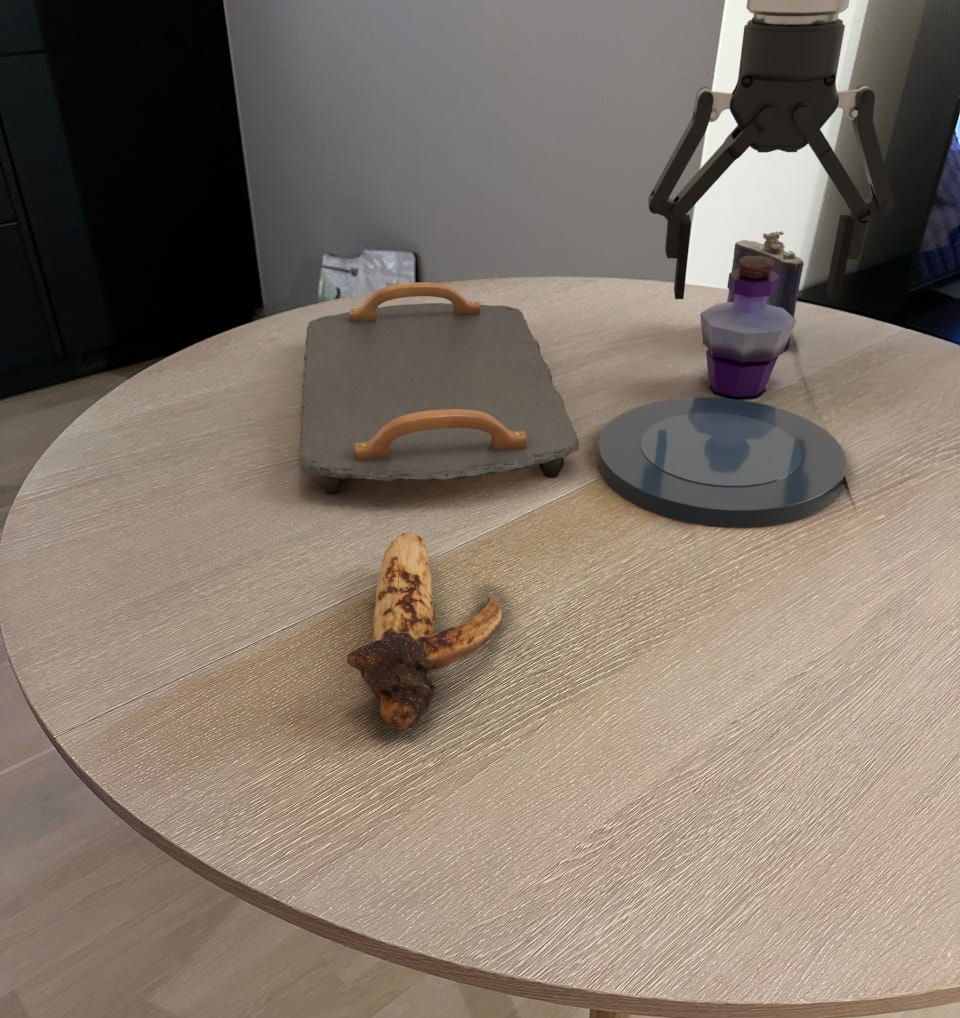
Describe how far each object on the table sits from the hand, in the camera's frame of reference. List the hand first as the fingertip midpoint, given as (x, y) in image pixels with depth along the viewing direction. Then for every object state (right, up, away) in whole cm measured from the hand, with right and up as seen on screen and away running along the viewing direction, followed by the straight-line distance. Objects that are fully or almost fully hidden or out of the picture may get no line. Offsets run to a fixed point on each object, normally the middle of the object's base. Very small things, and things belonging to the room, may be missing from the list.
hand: (754, 295), depth 87 cm
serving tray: (-30, -9, +4) cm, 31 cm away
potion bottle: (0, -7, +6) cm, 9 cm away
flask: (+5, +1, +16) cm, 16 cm away
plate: (-5, -17, -7) cm, 19 cm away
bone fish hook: (-28, -32, -25) cm, 49 cm away
